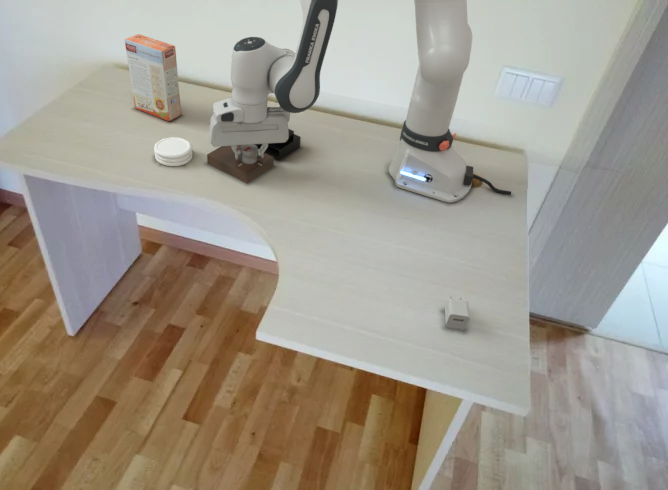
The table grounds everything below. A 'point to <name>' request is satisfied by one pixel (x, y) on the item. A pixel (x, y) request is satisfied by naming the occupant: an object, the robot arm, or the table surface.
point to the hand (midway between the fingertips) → (249, 157)
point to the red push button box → (283, 147)
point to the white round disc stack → (173, 151)
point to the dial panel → (238, 164)
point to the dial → (249, 154)
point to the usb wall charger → (457, 314)
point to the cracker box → (153, 76)
